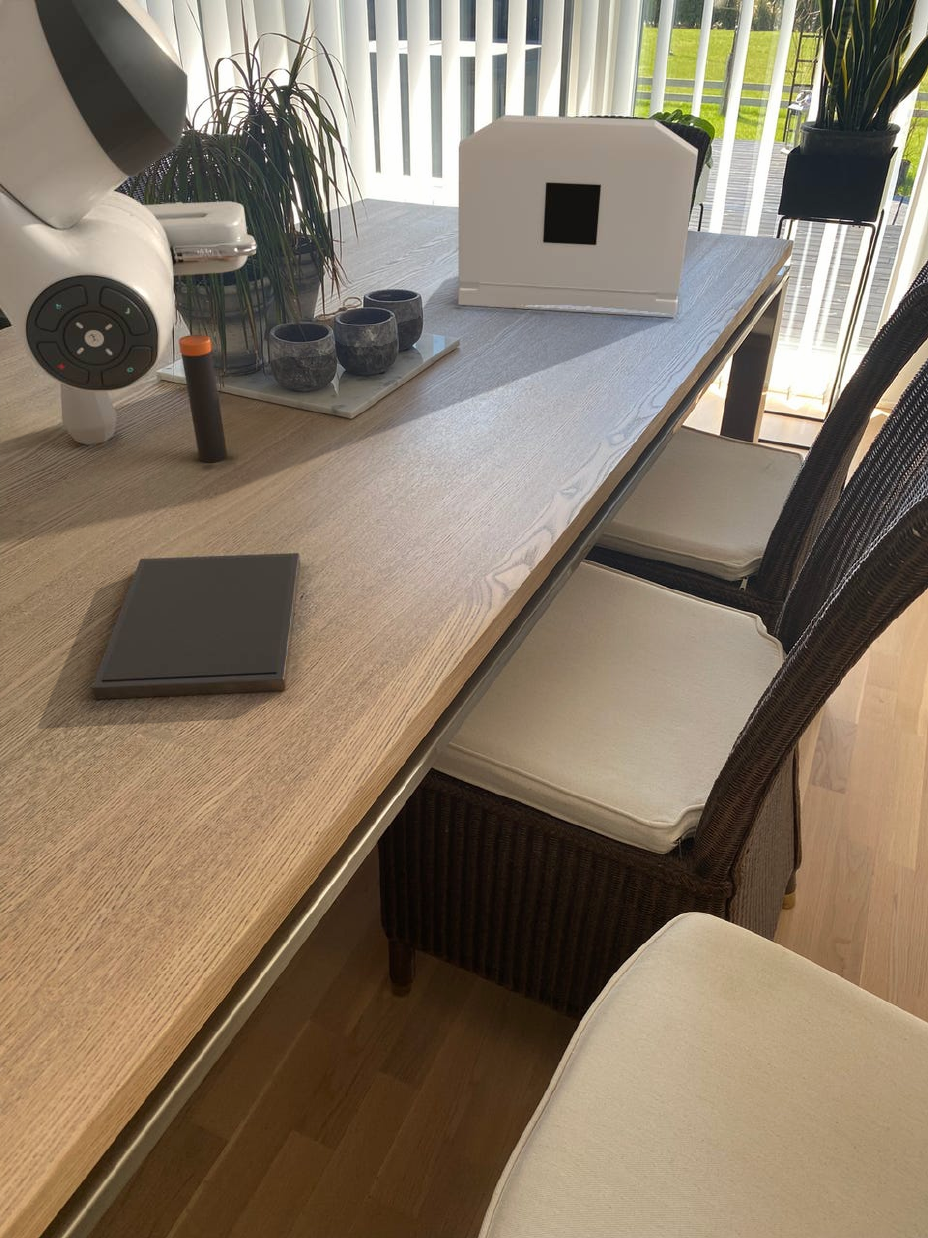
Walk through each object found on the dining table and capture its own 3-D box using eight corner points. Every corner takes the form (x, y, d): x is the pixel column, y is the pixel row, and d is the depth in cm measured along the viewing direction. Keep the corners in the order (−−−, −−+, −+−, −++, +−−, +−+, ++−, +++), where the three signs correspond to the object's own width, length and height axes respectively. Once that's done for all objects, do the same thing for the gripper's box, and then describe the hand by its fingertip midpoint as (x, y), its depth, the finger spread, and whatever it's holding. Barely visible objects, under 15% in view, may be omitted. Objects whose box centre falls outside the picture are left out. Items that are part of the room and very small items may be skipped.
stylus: (196, 463, 102) (176, 344, 95) (201, 450, 105) (181, 334, 97) (225, 462, 102) (207, 344, 95) (229, 450, 105) (211, 333, 97)
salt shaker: (63, 449, 105) (33, 333, 97) (70, 428, 109) (41, 316, 102) (118, 445, 106) (92, 329, 98) (123, 424, 110) (98, 312, 103)
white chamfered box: (675, 274, 162) (697, 99, 147) (675, 318, 143) (702, 122, 127) (482, 264, 167) (485, 93, 152) (458, 305, 147) (458, 114, 132)
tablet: (94, 700, 70) (90, 686, 69) (142, 569, 85) (139, 557, 84) (285, 691, 71) (283, 677, 70) (300, 563, 86) (299, 551, 85)
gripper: (254, 206, 66) (240, 168, 76) (-67, 220, 61) (-33, 178, 72) (264, 298, 69) (249, 249, 80) (-38, 318, 65) (-10, 263, 76)
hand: (114, 215), depth 76 cm, fingers open, 8 cm apart
